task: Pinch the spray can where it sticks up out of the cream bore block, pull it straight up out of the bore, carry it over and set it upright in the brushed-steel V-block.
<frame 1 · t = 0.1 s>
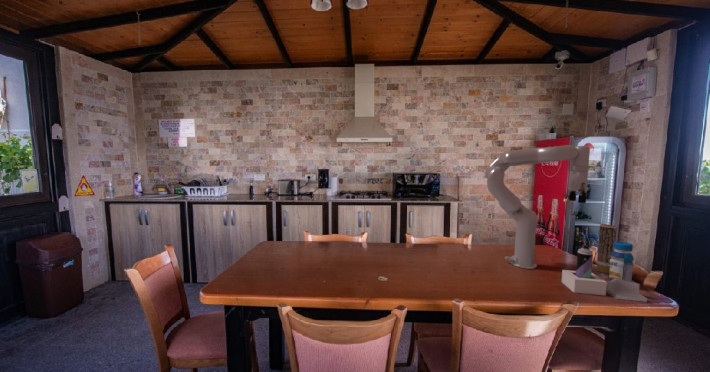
hand: (576, 201, 158), 37 cm above the table, tool pointing down, fingers open, 9 cm apart
v-block: (624, 295, 129), on the table
wooden log: (604, 272, 158), on the table
spray can: (582, 288, 136), resting in bore block
bore block: (582, 288, 136), on the table
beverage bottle: (619, 285, 141), on the table
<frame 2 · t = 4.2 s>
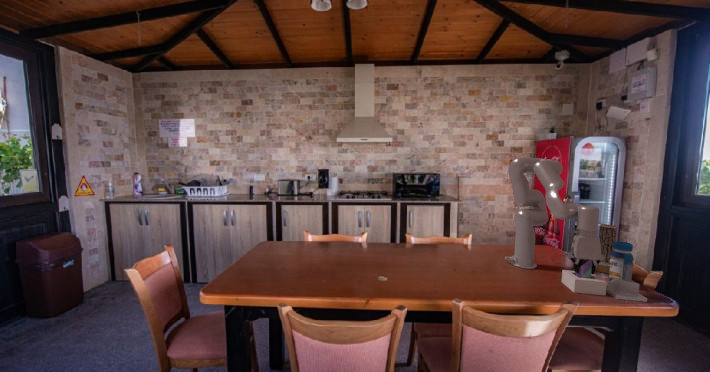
hand: (583, 272, 135), 8 cm above the table, tool pointing down, fingers closed on spray can, 5 cm apart
spray can: (582, 288, 136), resting in bore block, touching gripper
everything else where it was.
when the fingers open (10 cm above the table, at t = 12.7 s): spray can drops 1 cm, resting on v-block.
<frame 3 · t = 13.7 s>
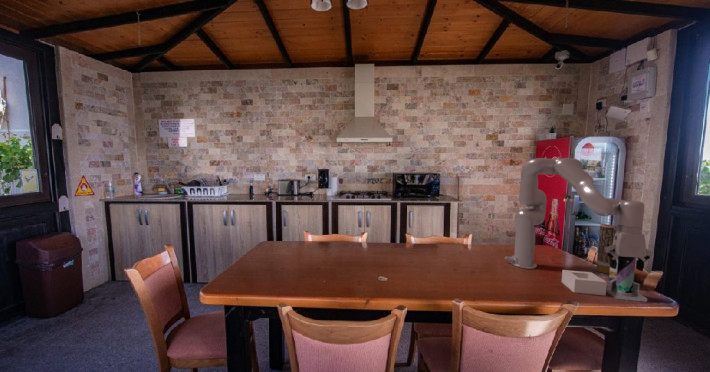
hand: (626, 269, 128), 12 cm above the table, tool pointing down, fingers open, 9 cm apart
spray can: (623, 292, 129), point 1 cm above the table, touching v-block
everything else where it was.
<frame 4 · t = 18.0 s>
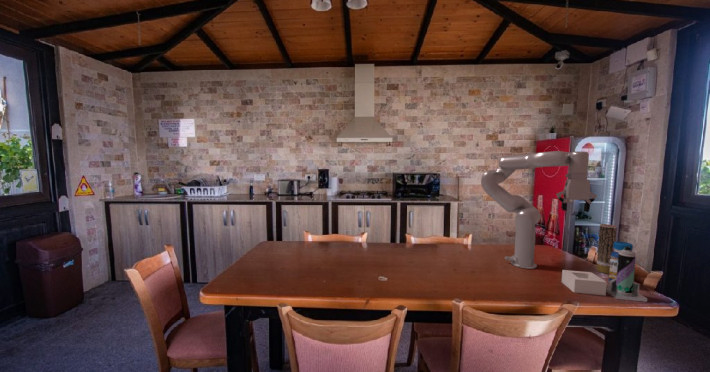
hand: (575, 211, 148), 33 cm above the table, tool pointing down, fingers open, 9 cm apart
nothing on the table moved.
at the end: spray can 0.2 cm from the v-block (horizontally); spray can tilted 0°; the gripper is holding nothing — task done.
